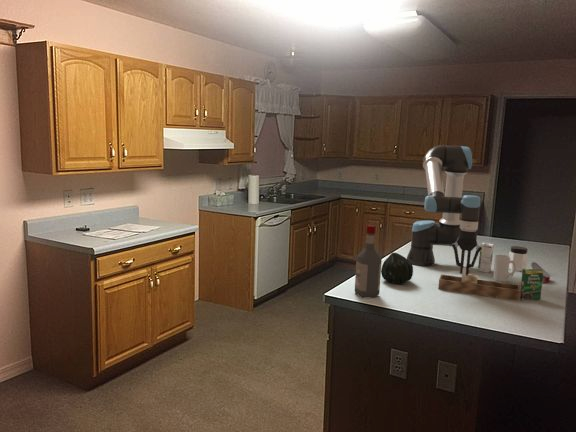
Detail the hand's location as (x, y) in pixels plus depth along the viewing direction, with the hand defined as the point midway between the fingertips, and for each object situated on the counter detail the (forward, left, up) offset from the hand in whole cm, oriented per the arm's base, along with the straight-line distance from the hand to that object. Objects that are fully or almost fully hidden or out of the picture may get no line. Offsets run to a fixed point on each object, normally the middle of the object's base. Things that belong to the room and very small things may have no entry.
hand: (463, 281), depth 218 cm
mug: (+18, +27, -4) cm, 33 cm away
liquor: (-37, -29, -4) cm, 47 cm away
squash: (-29, -3, -4) cm, 30 cm away
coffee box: (+28, +1, -4) cm, 28 cm away
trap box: (+7, 0, -4) cm, 8 cm away
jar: (+25, +55, -4) cm, 61 cm away
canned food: (+34, +37, -4) cm, 50 cm away
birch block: (+3, 0, -2) cm, 4 cm away
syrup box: (+9, +42, -4) cm, 43 cm away
